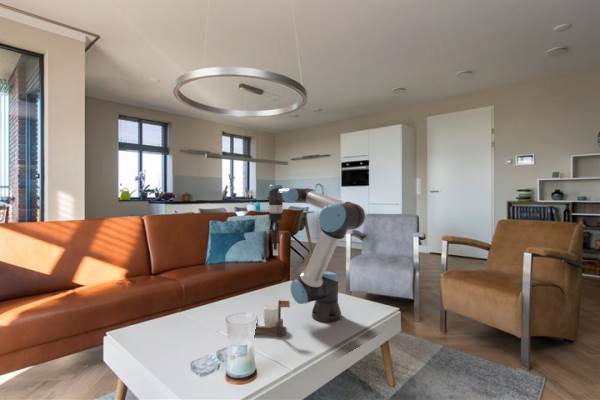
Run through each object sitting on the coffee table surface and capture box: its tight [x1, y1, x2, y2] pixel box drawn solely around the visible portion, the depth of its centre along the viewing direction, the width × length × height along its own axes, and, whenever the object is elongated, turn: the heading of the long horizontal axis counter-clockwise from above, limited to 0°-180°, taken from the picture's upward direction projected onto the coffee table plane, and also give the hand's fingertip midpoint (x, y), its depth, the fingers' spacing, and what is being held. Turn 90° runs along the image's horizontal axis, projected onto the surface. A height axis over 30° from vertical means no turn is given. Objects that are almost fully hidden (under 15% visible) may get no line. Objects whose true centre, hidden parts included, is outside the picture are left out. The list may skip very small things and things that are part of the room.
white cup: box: [263, 303, 278, 327], centre depth 152 cm, size 8×8×10 cm
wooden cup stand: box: [254, 299, 290, 338], centre depth 149 cm, size 12×20×16 cm, turn 86°
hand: (275, 255), depth 178 cm, fingers closed
